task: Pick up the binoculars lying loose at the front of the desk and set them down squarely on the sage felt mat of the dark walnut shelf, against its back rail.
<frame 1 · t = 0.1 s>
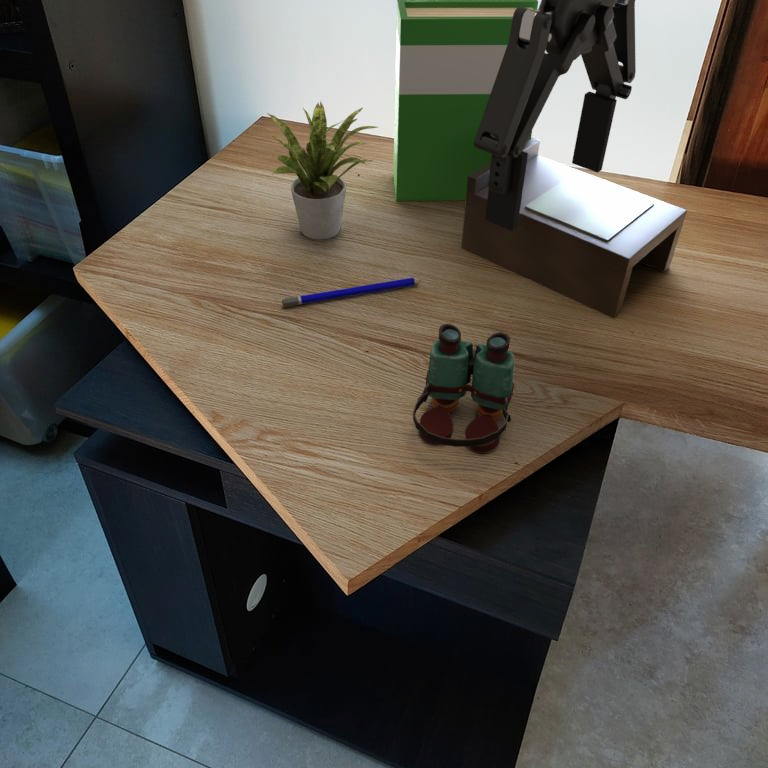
hand: (546, 193, 68), 21 cm above the table, tool pointing down, fingers open, 13 cm apart
hardback book: (456, 188, 111), on the table
house plant: (328, 233, 102), on the table
binoculars: (462, 432, 76), on the table
shelf: (563, 257, 98), on the table
pencil: (353, 296, 92), on the table
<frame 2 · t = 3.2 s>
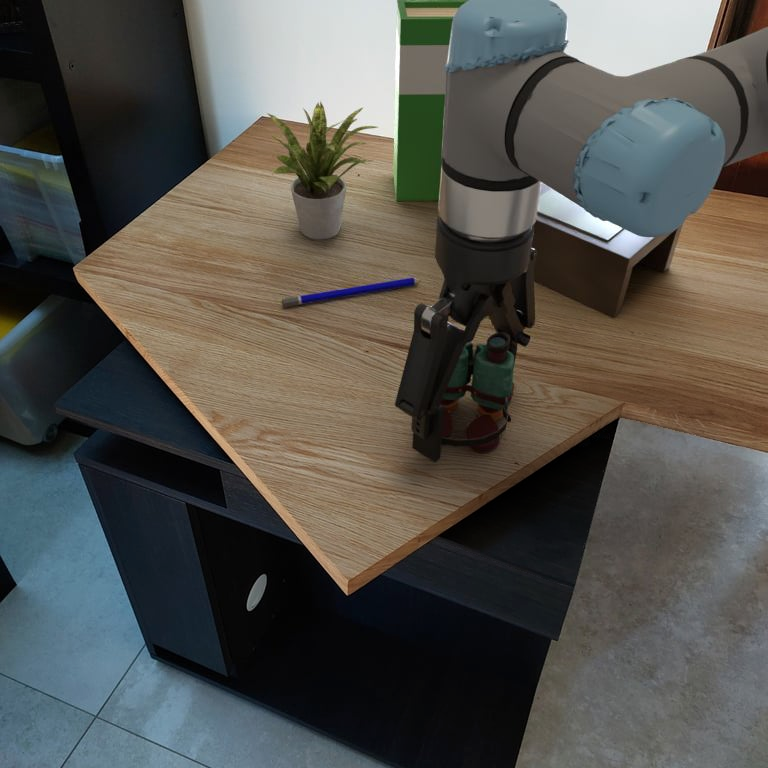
hand: (462, 421, 75), 1 cm above the table, tool pointing down, fingers closed on binoculars, 10 cm apart
binoculars: (462, 432, 76), on the table, touching gripper
everything else where it was.
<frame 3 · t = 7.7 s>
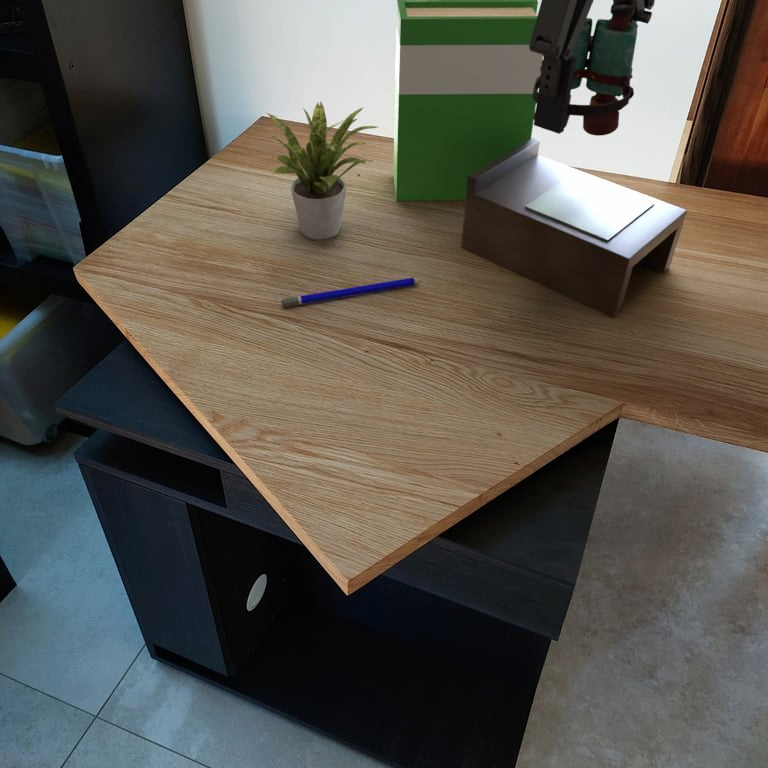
hand: (579, 109, 73), 24 cm above the table, tool pointing down, fingers closed on binoculars, 10 cm apart
binoculars: (577, 124, 74), point 23 cm above the table, touching gripper
everything else where it was.
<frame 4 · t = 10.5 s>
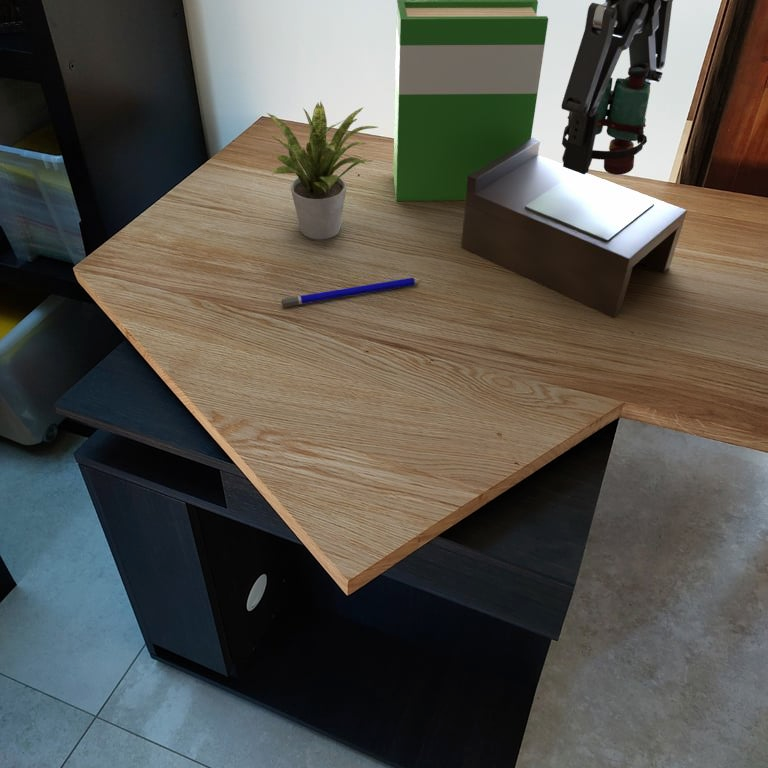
hand: (601, 152, 87), 15 cm above the table, tool pointing down, fingers closed on binoculars, 10 cm apart
binoculars: (598, 164, 89), point 13 cm above the table, touching gripper
everything else where it was.
when the fingers open (10 cm above the table, at t = 12.4 s): binoculars stays where it is, resting on shelf.
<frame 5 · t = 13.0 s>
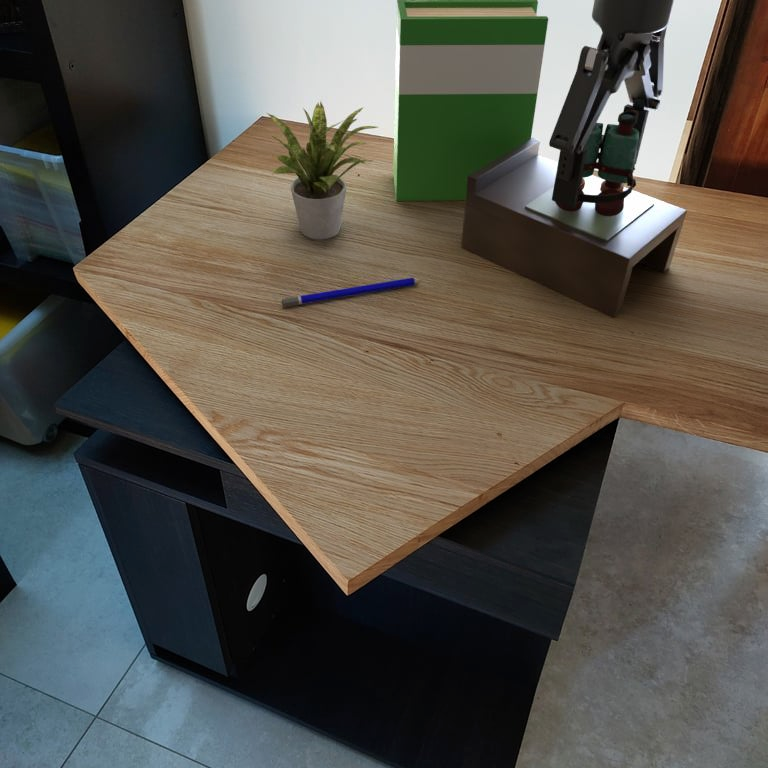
hand: (595, 181, 90), 11 cm above the table, tool pointing down, fingers open, 13 cm apart
binoculars: (590, 205, 92), point 8 cm above the table, touching shelf
everything else where it was.
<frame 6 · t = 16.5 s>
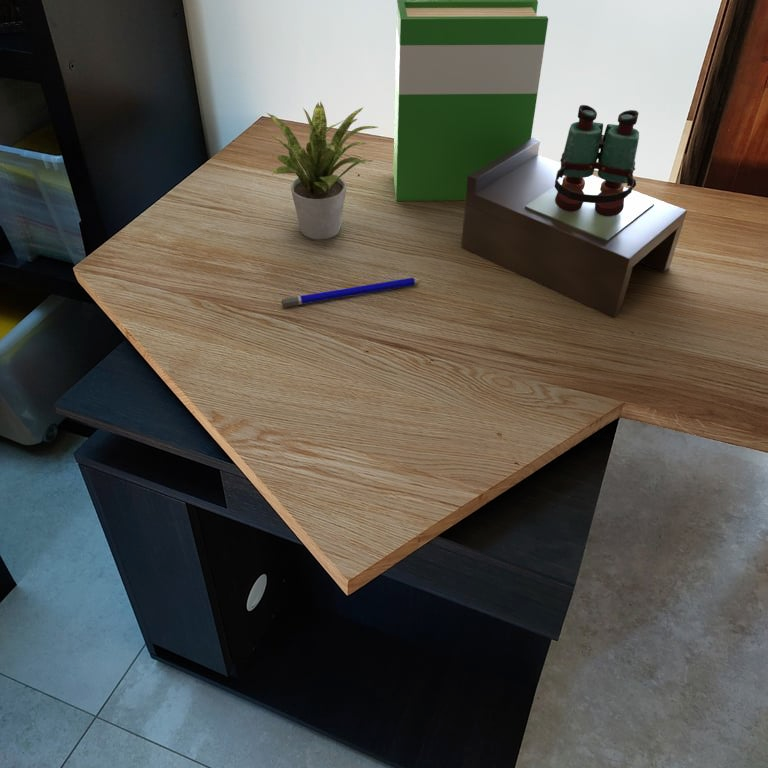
nothing on the table moved.
at the end: binoculars inside the target area on the shelf (0.1 cm from its centre), point 8.0 cm above the shelf's base; binoculars tilted 0°; the gripper is holding nothing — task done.
